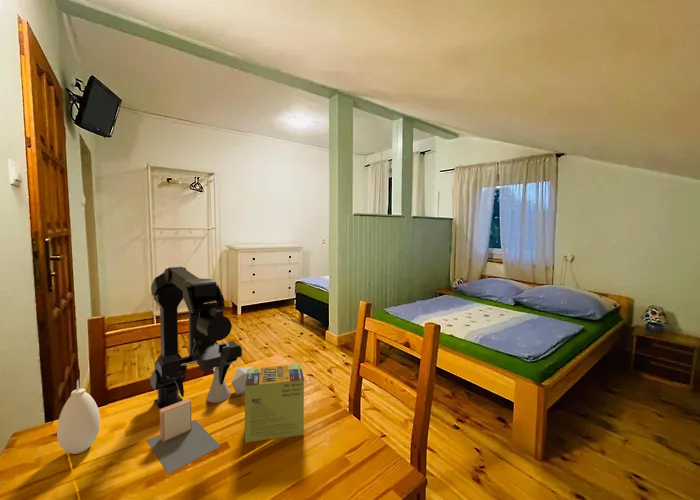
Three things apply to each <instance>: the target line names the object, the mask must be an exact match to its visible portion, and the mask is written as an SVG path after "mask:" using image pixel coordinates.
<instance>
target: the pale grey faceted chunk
mask: <svg viewBox="0 0 700 500" xmlns="http://www.w3.org/2000/svg"><path fill="white" fill-rule="evenodd" d="M255 367H256V366H245V367H238V368H237V369H236V372H235V374H234V376H233V378H232V381H231V386H232V387H233V389H234V392H235V393H236V396H241V395H245V383H246V379H247V373H248V369H252V368H255Z"/></svg>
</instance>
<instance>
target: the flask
mask: <svg viewBox="0 0 700 500" xmlns="http://www.w3.org/2000/svg"><path fill="white" fill-rule="evenodd" d="M212 371H213V378H212V382H211V386H210V388H209V391H208V394H207V396H206V400H205V401H207V402H209V403H211V404H212V403H214V404H215V403H222V402H224V401H226V400H227V399H229V398H230V396H231V390H230V389H229V386H228V385H227V383H226V380H225V378H224V381H223V384H222V385H220V383H219V367H214V368H212Z"/></svg>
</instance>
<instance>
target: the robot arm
mask: <svg viewBox="0 0 700 500" xmlns="http://www.w3.org/2000/svg"><path fill="white" fill-rule="evenodd" d="M150 286H151V287H150V290H151V291H150V292H151V295H152V296H153V300H154V302H155V303H156V304H157V305H158V307H159V314H160V315H159V322H160V324H159V325H160V354H159V356H158V357H157V359H156V361H155V362H154V369H153V371H152V373H151V376H150V378H149V381H150V386H151V387H152V388H153V390H154V391H157V399H154V400H153V403H154V404H155V405H156V406H157V407H158V409H159V410H160V409H162V408H165V407H167V406H170V405H173V404H175V403H178V402H181V401H183V400H184V399H183V398H184V397H185V390H184V382H185V381H186V376H187V371H188V366H187V365H193V364H196V363H197V365H198V368H199V370H200V371H203V372H205V371H208V370H210V369H214V368H215V367H219V383H220V385H222V384H223V381H224V379H225V378H226V375H227V372H228V370H229V368H230V366H231V364H233V363H234V362H237V361H238V359H239V358H241V357H242V356H243V348H242V346H241V345H239V343H237V342H235V341H234V340H232V341H227V342H223V343H219V344H218V342H220V341H222V340H224V339H226V338H227V337H228V336H229V335H230V334H231V331H232V322H231V319H230V318H229V317H228V316H225V315H224V310H223V309H225V307H226V306H225V302H226V301H225V298H224V295H223V293H222V291H221V288H220V286H219V284H218V283H217V282H216V281H215V280H214V279H211V278H200V277H198V276H196V275H195V274H193V273H192V272H190V271H188V270H187V268H186V267H183V266H172V267H167V268H165V269H164V271H163V272H162V273H161V274H159V275H158V276H155V277H154V279H153V281H152V282H151V285H150ZM182 301H184V303H185V305H186V307H187V310H188V335H187V336H188V340H189V341H188V346H189V347H188V354H189V355H188V356H183V357H182V356H181V354H180V353H179V332H178V331H179V326H178V324H179V323H178V322H179V321H178V320H179V319H178V307H179V305H180V304H181V302H182Z"/></svg>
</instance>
